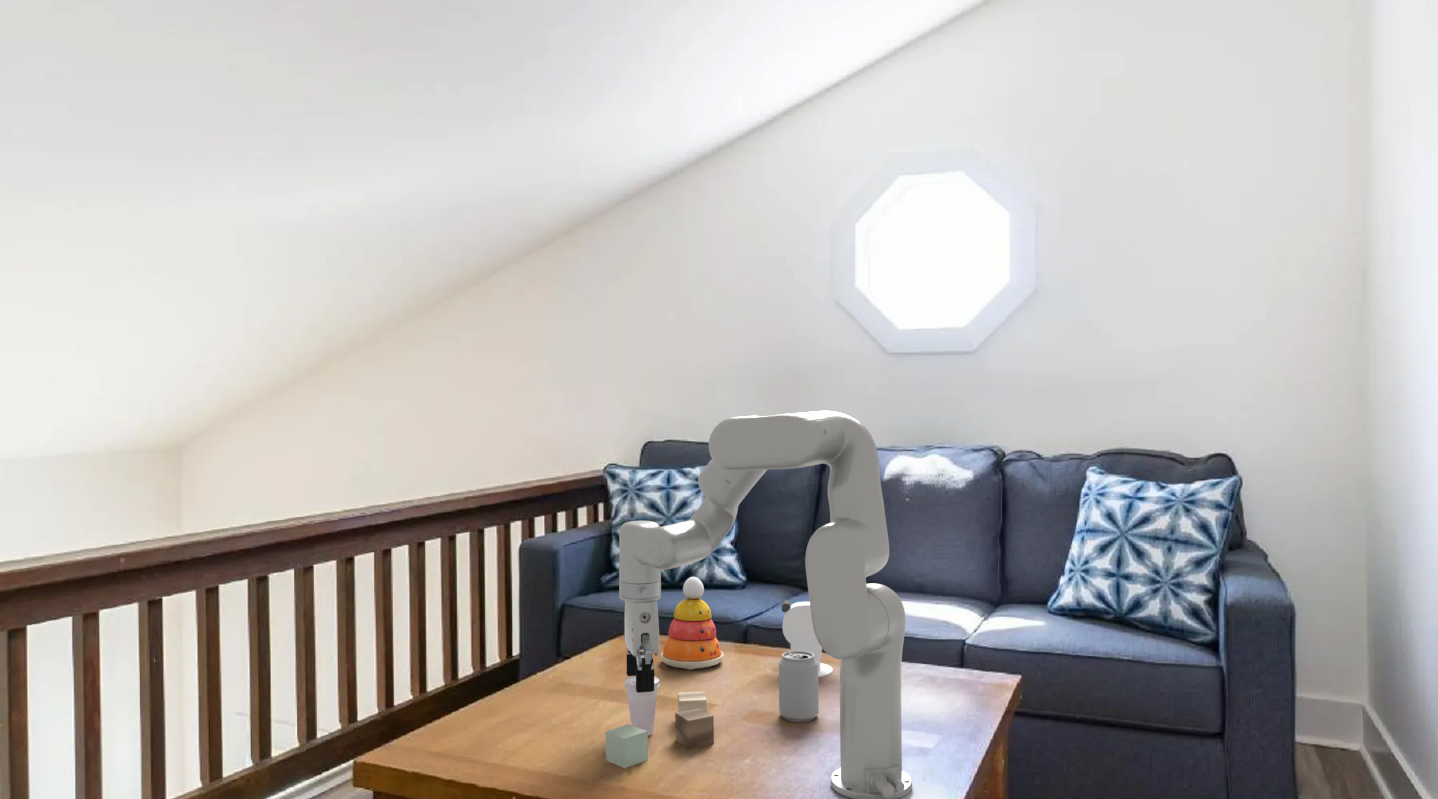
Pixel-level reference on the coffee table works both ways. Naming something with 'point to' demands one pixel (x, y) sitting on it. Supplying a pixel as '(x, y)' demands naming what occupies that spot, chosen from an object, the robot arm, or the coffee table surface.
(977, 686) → the coffee table surface
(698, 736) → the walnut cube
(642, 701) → the smoothie
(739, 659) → the coffee table surface
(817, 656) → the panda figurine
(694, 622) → the stacking toy
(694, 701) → the maple cube
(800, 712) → the can
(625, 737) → the sage painted cube
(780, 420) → the robot arm
